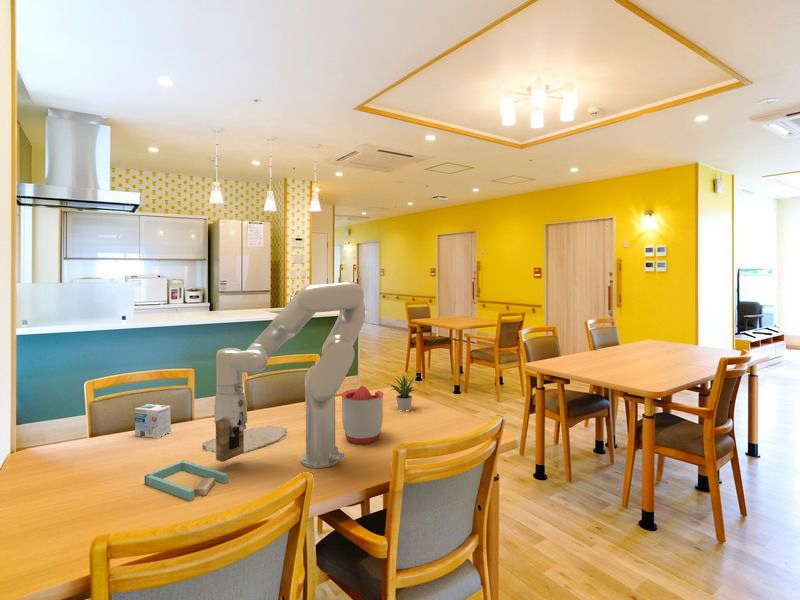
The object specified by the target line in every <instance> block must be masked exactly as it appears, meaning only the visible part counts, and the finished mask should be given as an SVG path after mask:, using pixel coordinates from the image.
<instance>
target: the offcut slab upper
mask: <svg viewBox="0 0 800 600" xmlns="http://www.w3.org/2000/svg"><path fill="white" fill-rule="evenodd" d="M215 484H216V481H215V478H205V477H201V479H200V480H199V481H198V482H197V483H196V485H195V486H193V488H191V489H192V490H194V497H196V496H201V497H205V496H207V495H208V493H210V491H211V490H212V488H213V487H214V486H215Z"/></svg>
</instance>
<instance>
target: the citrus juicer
mask: <svg viewBox="0 0 800 600" xmlns="http://www.w3.org/2000/svg"><path fill="white" fill-rule="evenodd" d="M340 396H341V420H342V428H343V431H344V435H345V437H346V440H347V441H348V442H351V443H355V444H364V445H365V444H366V445H367V444H370V443H373V442H375V441H377V440H378V439H379V436H380V434H381V430H382V426H383V420H384V419H383V418H384V417H383V415H384V413H383V412H384V409H383V408H384V406H383V405H384V403H383V401H384V392H383V391H381V390H377V391H375V394H371V392H370V391H369V390H368V388H366V386H364V385H360V387H358V388H355V389H349V390H346V391H343V392H342V393H341V394H340Z"/></svg>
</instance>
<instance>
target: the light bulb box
mask: <svg viewBox="0 0 800 600" xmlns="http://www.w3.org/2000/svg"><path fill="white" fill-rule="evenodd" d="M171 415H172V414H171V405H164V404H163V405H162V404H153V403H152V404H151V403H147V404H144V405H141V406H139V407H135V408H134V431H135V433H134V434H135V435H134V436H135V437H139V436H144V437H143V438H147V437H153V438H152V439H155V438H158V437H161V436H163V435H165V434H167V433H169V432H171V433H172V424H171V423H172V422H171V419H172V418H171ZM167 435H168V434H167ZM165 436H166V435H165ZM163 437H164V436H163ZM161 438H162V437H161Z"/></svg>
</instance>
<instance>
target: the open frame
mask: <svg viewBox="0 0 800 600" xmlns="http://www.w3.org/2000/svg"><path fill="white" fill-rule="evenodd" d="M182 471H184V472H187V473H190V474H194V475H196V476H200V477H201V478H215V482H218V483H220V484H223V485H225V484H227V483H229V474H228V473H225V472H222V471H219V470H216V469H213V468H209V467H206V466H203V465H200V464H196V463H193V462H191V461H187V460H183V459H182V460H181V461H178V462H175V463H173V464H170V465H168V466H166V467H163V468H160V469H158V470H155V471H153V472H151V473H147V474H145V475H144V485H146V486H149V487H151V488H154V489H158V490H160V491H163V492H165V493H168V494H171V495H174V496H175V497H179V498H182V499H184V500H186V501H189V502H191V501H193V500H195V496H194V490H192V489H193V488H190V487H189V488H188V487H185V486H184V485H181V484H178V483H175V482H173V481H169V480H166V479H164V478H167V477H169V476H172V475H174V474H177V473H179V472H182Z"/></svg>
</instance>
